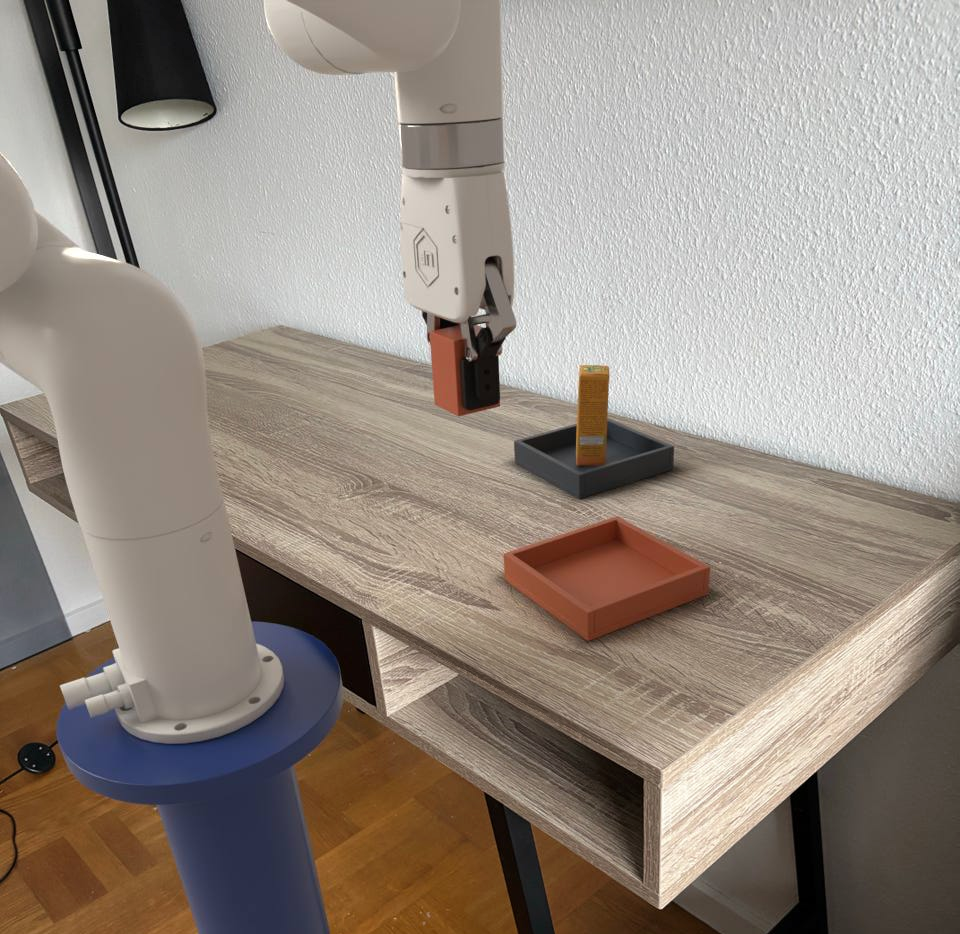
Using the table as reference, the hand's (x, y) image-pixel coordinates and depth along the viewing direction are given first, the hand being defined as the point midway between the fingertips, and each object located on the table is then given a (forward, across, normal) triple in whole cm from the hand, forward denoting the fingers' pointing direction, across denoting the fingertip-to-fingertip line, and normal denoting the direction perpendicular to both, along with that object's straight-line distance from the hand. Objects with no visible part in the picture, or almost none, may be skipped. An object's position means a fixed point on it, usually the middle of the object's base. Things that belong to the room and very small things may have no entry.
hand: (466, 396), depth 78 cm
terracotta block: (+1, 0, 0) cm, 1 cm away
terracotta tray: (+15, +11, +6) cm, 20 cm away
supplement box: (+14, -11, +21) cm, 28 cm away
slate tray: (+15, -11, +21) cm, 28 cm away
